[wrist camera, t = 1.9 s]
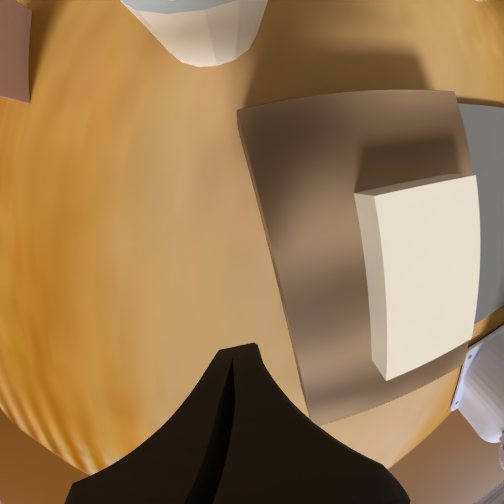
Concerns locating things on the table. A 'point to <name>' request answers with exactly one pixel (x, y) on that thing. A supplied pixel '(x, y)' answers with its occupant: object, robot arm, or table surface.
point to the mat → (488, 199)
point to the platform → (343, 224)
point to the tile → (420, 268)
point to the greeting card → (14, 50)
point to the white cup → (201, 27)
